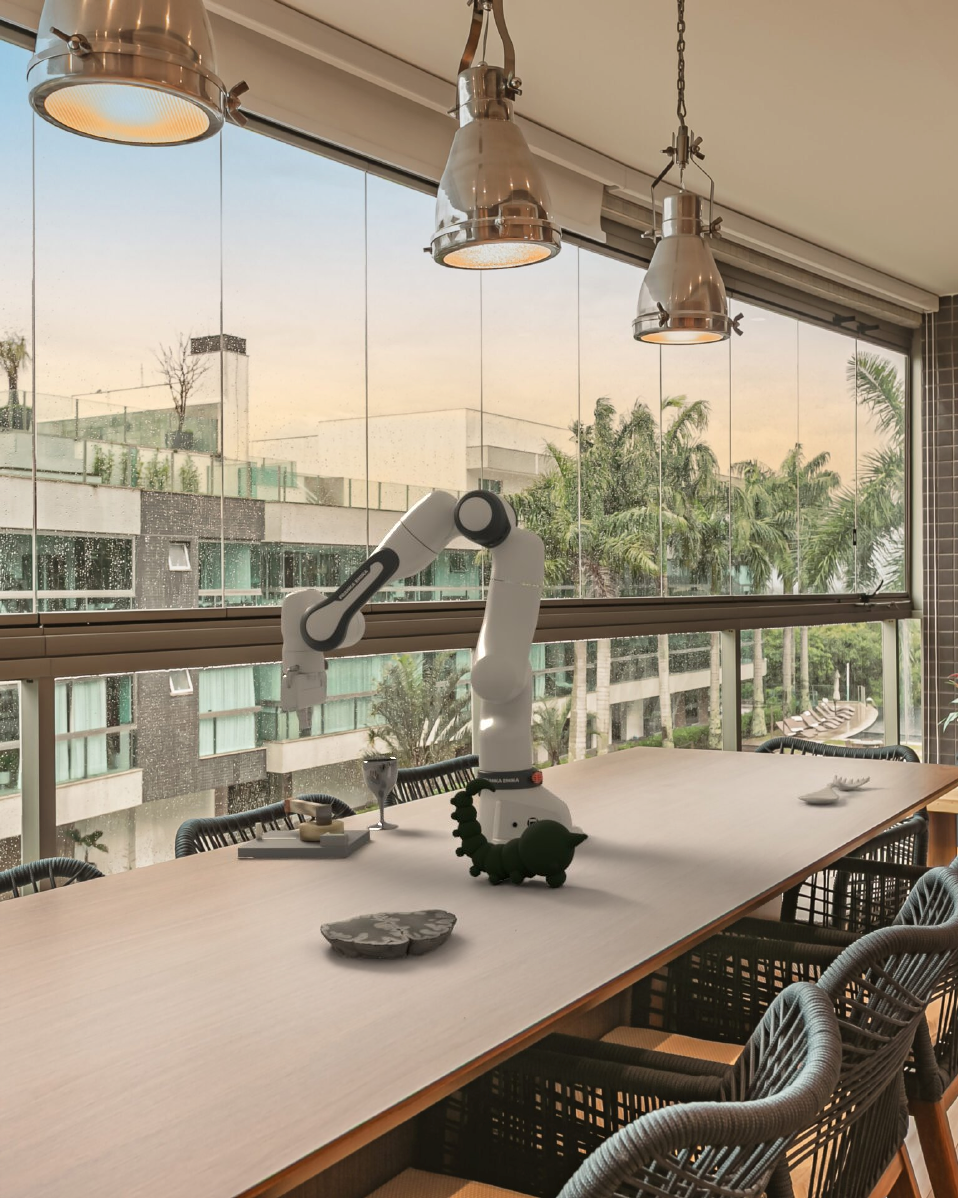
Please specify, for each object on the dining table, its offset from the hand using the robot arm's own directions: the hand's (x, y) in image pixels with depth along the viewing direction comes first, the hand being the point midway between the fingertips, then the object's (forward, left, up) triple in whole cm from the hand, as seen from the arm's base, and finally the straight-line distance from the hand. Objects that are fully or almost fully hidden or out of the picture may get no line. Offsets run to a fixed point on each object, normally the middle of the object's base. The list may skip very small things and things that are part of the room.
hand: (305, 728), depth 245 cm
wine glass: (-14, -9, -23) cm, 29 cm away
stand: (-4, +14, -23) cm, 27 cm away
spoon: (-115, -45, -24) cm, 126 cm away
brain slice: (-39, +80, -24) cm, 92 cm away
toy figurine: (-52, +43, -23) cm, 71 cm away
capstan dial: (-4, +11, -21) cm, 24 cm away
